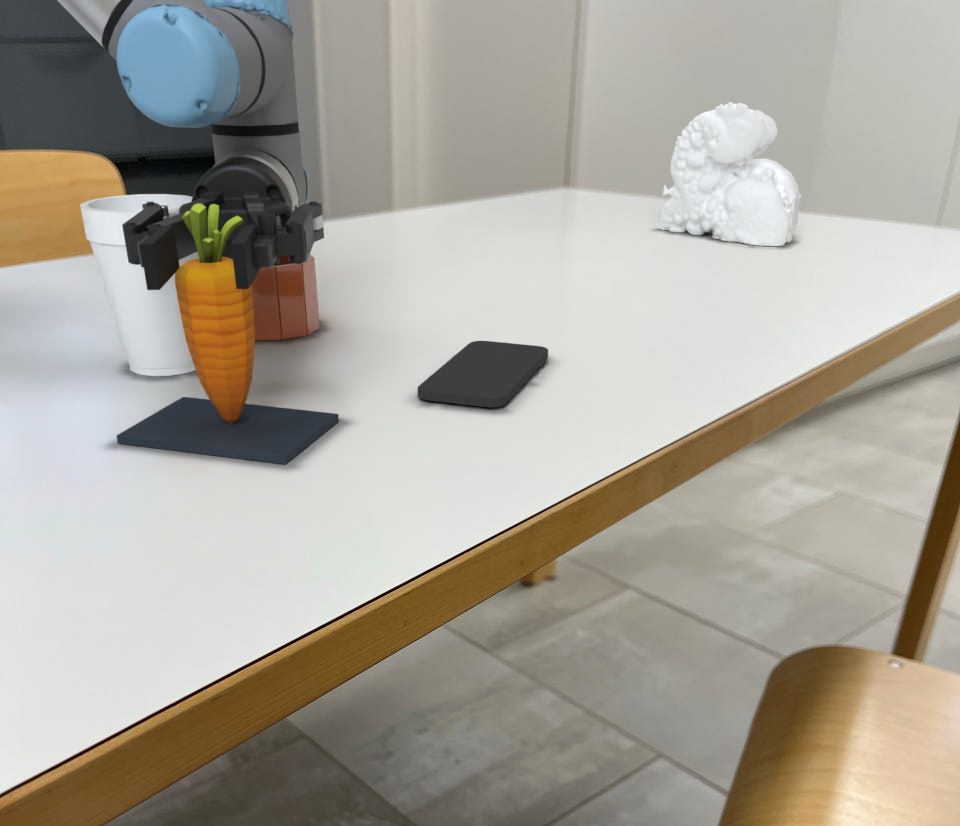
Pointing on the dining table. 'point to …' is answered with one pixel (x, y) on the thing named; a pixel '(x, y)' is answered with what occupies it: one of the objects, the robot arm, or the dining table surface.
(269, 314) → the holder
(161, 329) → the foam cup
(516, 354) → the phone
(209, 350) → the carrot
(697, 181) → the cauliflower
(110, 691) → the dining table surface
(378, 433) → the dining table surface
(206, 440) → the mat
